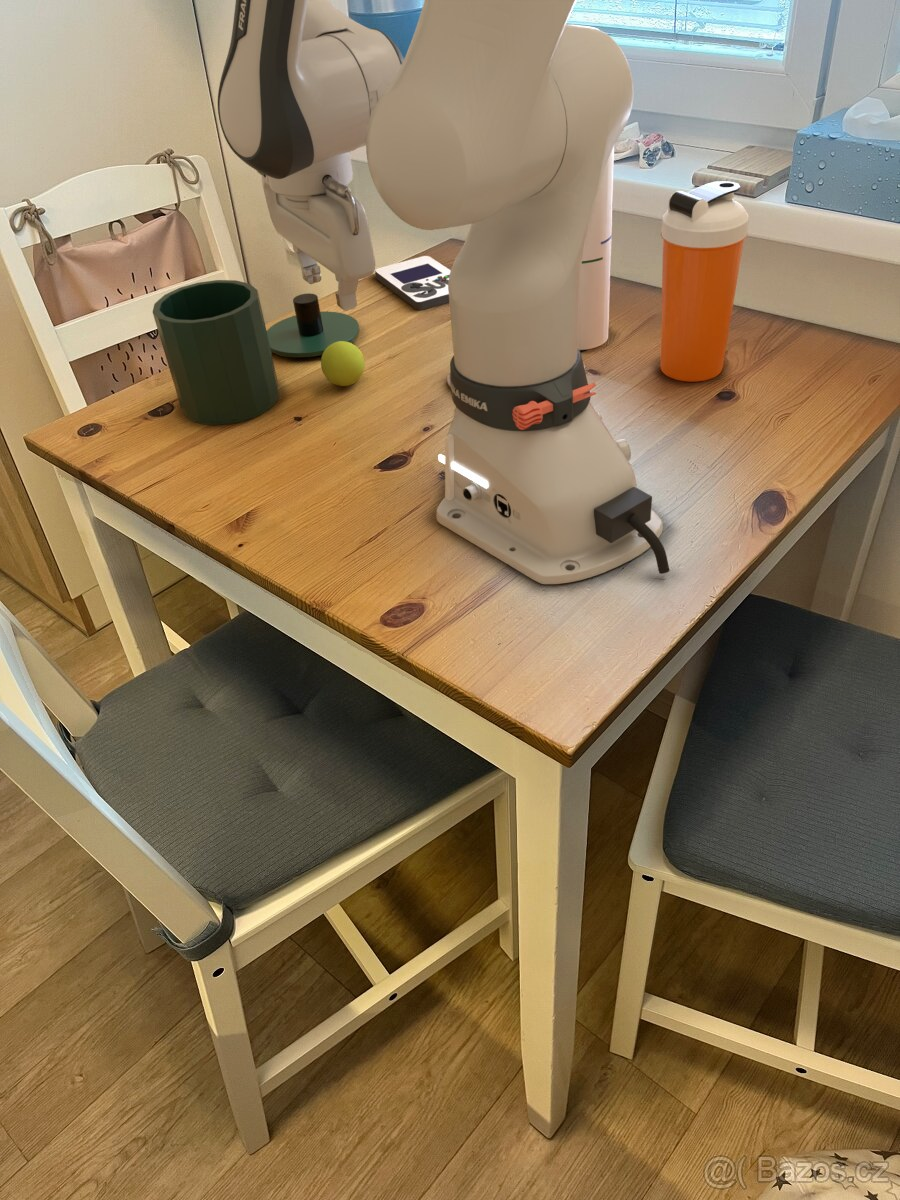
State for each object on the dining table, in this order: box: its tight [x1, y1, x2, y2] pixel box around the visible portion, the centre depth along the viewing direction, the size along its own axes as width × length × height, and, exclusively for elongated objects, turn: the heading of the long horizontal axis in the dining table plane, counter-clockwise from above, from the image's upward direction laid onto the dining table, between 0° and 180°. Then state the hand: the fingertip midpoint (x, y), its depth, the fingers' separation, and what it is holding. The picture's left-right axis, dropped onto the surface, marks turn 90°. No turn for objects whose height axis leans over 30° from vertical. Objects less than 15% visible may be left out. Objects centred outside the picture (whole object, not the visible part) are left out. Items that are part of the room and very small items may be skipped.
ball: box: [320, 341, 366, 387], centre depth 112 cm, size 5×5×5 cm
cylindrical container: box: [577, 146, 615, 351], centre depth 110 cm, size 7×7×25 cm
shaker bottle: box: [660, 180, 750, 383], centre depth 103 cm, size 9×9×20 cm
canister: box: [152, 279, 280, 426], centre depth 108 cm, size 12×12×12 cm
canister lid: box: [266, 293, 360, 358], centre depth 122 cm, size 13×13×6 cm
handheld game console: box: [374, 255, 451, 311], centre depth 134 cm, size 9×15×1 cm, turn 27°
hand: (329, 294), depth 107 cm, fingers open, 8 cm apart
